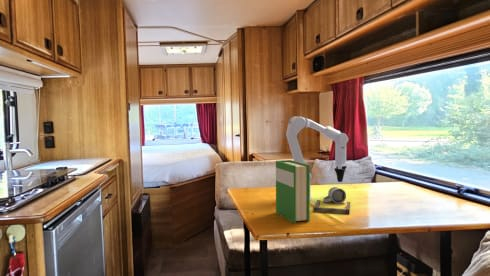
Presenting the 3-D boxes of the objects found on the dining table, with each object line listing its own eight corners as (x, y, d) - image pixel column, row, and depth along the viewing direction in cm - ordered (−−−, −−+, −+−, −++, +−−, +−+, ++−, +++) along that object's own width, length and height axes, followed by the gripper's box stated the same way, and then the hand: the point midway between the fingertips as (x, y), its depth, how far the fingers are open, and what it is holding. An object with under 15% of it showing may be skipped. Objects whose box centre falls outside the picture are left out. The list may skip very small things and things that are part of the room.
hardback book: (309, 221, 153) (309, 164, 151) (293, 223, 150) (293, 165, 149) (290, 211, 169) (290, 160, 168) (276, 212, 167) (275, 160, 165)
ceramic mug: (340, 199, 191) (340, 185, 191) (346, 203, 183) (346, 188, 182) (321, 200, 190) (320, 186, 190) (325, 204, 182) (325, 189, 182)
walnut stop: (313, 211, 168) (313, 207, 168) (317, 203, 182) (317, 200, 182) (349, 214, 163) (349, 209, 163) (350, 206, 178) (350, 201, 178)
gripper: (347, 157, 185) (347, 183, 186) (349, 154, 199) (348, 178, 200) (333, 156, 187) (333, 182, 188) (335, 153, 201) (335, 178, 202)
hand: (340, 180), depth 194 cm, fingers open, 7 cm apart
